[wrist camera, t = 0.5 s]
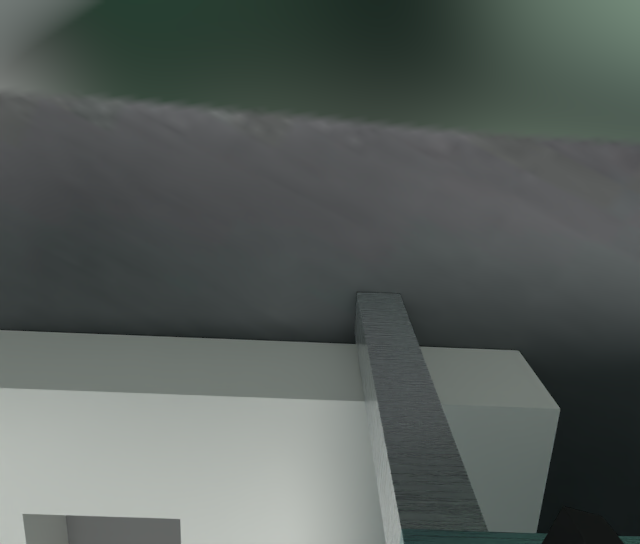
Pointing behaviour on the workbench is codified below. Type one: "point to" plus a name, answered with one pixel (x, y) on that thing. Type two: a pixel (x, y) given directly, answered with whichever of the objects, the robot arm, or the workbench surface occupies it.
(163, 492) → the socket block
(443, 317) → the workbench surface
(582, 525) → the robot arm
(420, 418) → the teal topped shelf
